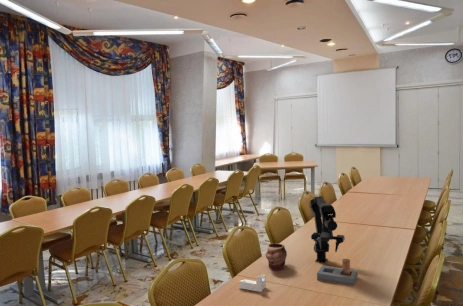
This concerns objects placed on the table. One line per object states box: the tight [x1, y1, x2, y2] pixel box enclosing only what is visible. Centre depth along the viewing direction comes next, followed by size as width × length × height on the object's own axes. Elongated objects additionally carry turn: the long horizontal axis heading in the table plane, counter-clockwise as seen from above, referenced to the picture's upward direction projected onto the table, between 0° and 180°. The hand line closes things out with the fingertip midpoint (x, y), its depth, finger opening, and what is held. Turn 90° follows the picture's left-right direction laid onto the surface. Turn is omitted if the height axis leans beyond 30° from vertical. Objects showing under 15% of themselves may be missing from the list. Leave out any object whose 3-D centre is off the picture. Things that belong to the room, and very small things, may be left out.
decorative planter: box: [265, 242, 288, 271], centre depth 222 cm, size 20×12×14 cm, turn 150°
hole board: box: [316, 265, 358, 287], centre depth 200 cm, size 12×20×4 cm, turn 61°
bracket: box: [238, 274, 267, 293], centre depth 194 cm, size 13×7×8 cm, turn 63°
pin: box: [341, 258, 351, 276], centre depth 197 cm, size 4×4×10 cm
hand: (328, 251), depth 211 cm, fingers open, 9 cm apart
